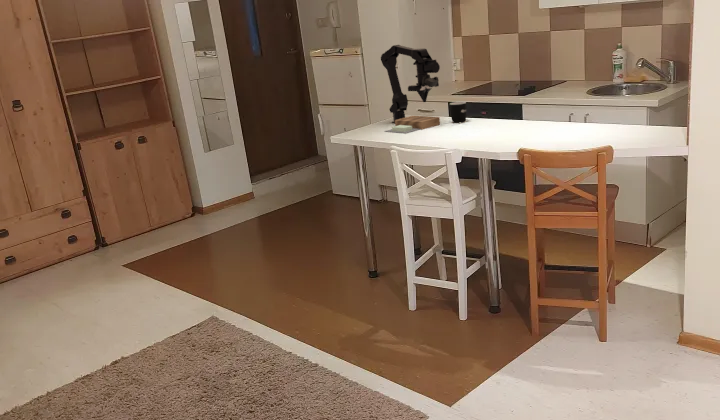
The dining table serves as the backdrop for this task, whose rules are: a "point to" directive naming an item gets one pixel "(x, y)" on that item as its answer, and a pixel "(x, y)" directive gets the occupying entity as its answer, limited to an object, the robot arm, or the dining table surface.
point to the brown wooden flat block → (418, 121)
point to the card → (402, 128)
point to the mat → (403, 132)
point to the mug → (458, 111)
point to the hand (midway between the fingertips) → (424, 102)
